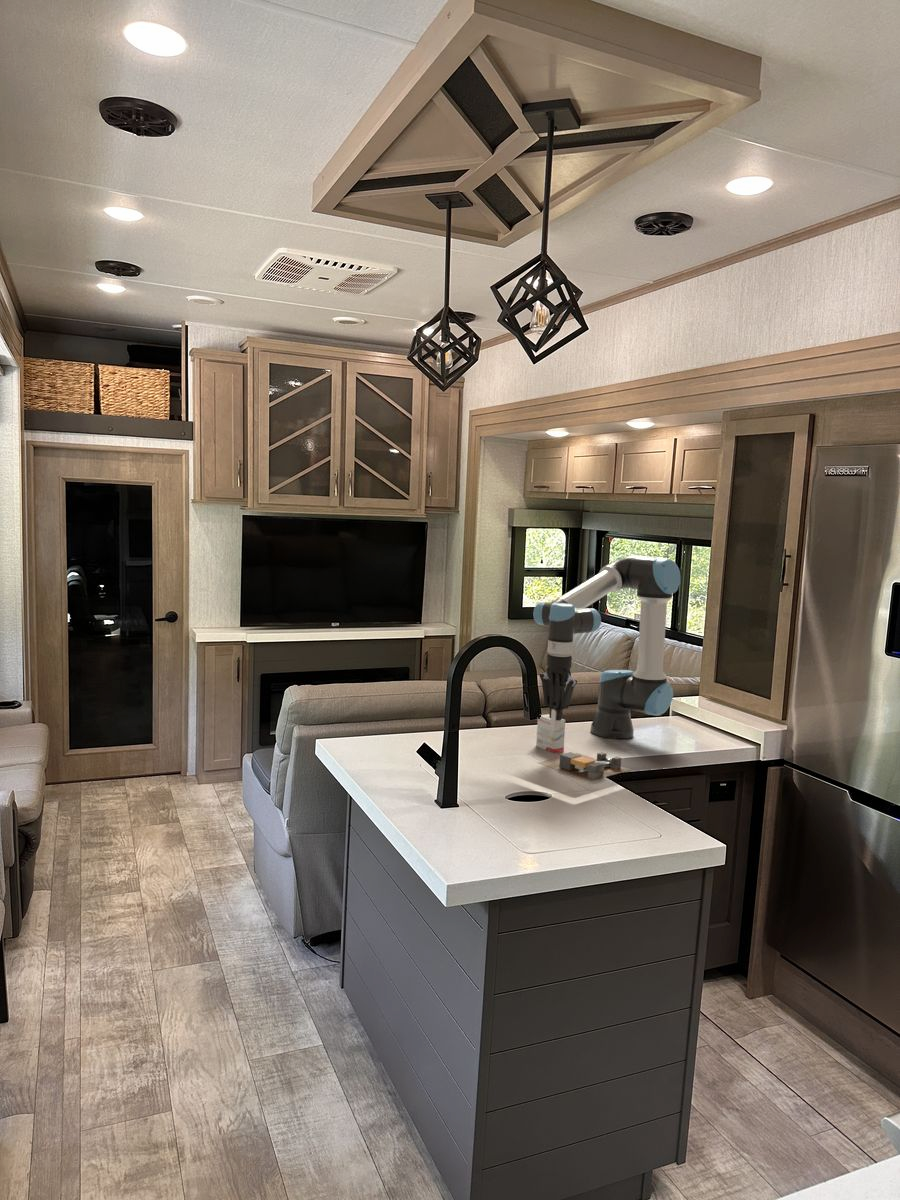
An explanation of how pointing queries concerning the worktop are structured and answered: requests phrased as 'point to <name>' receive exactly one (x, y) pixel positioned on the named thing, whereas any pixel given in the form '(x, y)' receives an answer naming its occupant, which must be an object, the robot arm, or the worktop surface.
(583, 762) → the latch
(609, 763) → the strap
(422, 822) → the worktop surface
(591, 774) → the board
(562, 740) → the ink box
